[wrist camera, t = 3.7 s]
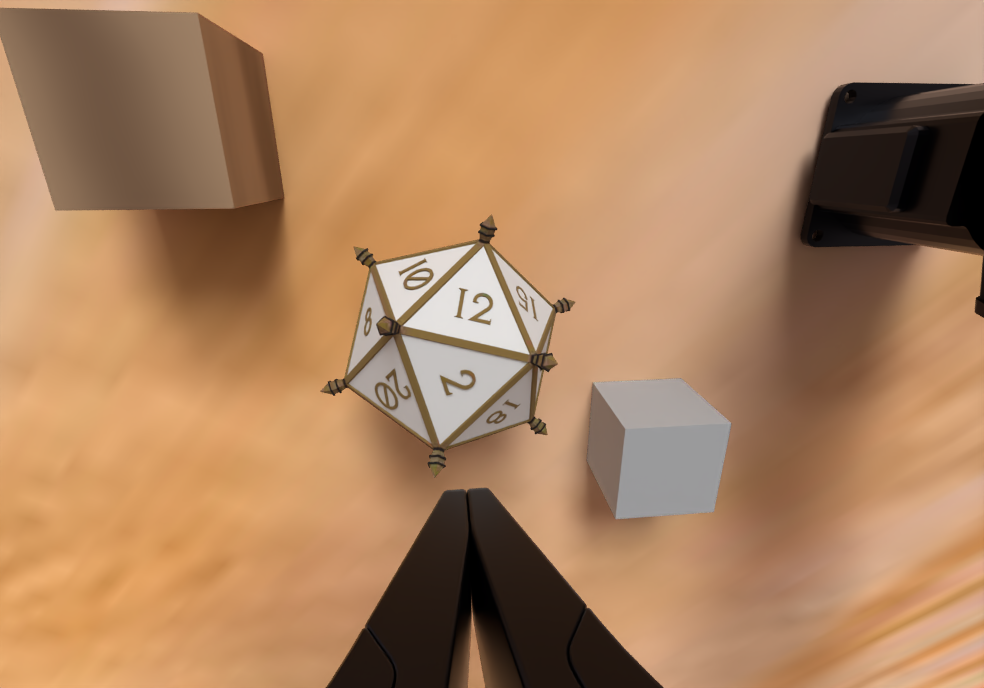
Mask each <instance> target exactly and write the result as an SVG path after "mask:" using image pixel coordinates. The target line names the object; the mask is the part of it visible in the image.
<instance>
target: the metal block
mask: <svg viewBox="0 0 984 688" xmlns="http://www.w3.org/2000/svg"><path fill="white" fill-rule="evenodd" d="M0 37H1V40H2V43H3V46H4V50H5V53H6V56H7V59H8V62H9V65H10V68H11V72H12V75H13V78H14V81H15V84H16V87H17V91H18V94H19V97H20V100H21V103H22V106H23V110H24V113H25V116H26V119H27V122H28V125H29V128H30V132H31V135H32V138H33V141H34V144H35V147H36V151H37V154H38V157H39V160H40V163H41V166H42V170H43V173H44V176H45V179H46V182H47V185H48V188H49V192H50V195H51V198H52V201H53V204H54V207H55V210H144V209H234V208H239V207H244V206H249V205H254V204H258V203H263V202H268V201H273V200H278V199H283V198H284V192H283V185H282V179H281V172H280V165H279V159H278V152H277V145H276V139H275V132H274V125H273V119H272V112H271V106H270V99H269V92H268V86H267V79H266V72H265V66H264V59H263V54H262V53H261V52H259V51H258V50H256V49H254V48H253V47H251V46H250V45H248V44H246V43H245V42H243V41H242V40H240V39H239V38H237V37H235V36H234V35H232V34H231V33H229V32H227V31H226V30H224V29H223V28H221V27H219V26H218V25H216V24H215V23H213V22H211V21H210V20H208V19H207V18H205V17H203V16H202V15H200V14H199V13H187V12H147V11H107V10H67V9H27V8H0Z"/></svg>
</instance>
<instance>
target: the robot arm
mask: <svg viewBox="0 0 984 688" xmlns="http://www.w3.org/2000/svg"><path fill="white" fill-rule="evenodd" d="M846 93H848V94H849V98H848V100H847V102H845V94H846ZM815 231H817V235H816V237H815V238H814V239H812V235H813V233H814V232H815ZM801 241H802V243H803V244H805V245H808V246H813V247H841V246H891V245H921V246H927V247H933V248H939V249H945V250H951V251H957V252H963V253H969V254H975V255H981V256H983V263H982V276H981V288H980V296H978V297H976V302H975V313H976V314H978V315H980V316H981V317H983V318H984V83H982V84H921V83H849V84H844V85H841V86H839V87H838V88H837V89H836V90H835V91H834V92H833V95H832V97H831V102H830V106H829V111H828V115H827V120H826V124H825V129H824V133H823V138H822V142H821V147H820V151H819V156H818V160H817V165H816V169H815V173H814V178H813V182H812V187H811V191H810V196H809V200H808V205H807V209H806V214H805V218H804V223H803V227H802V232H801ZM471 600H472V608H471ZM472 612H473V619H474V626H475V632H476V638H477V643H478V649H479V654H480V660H481V666H482V671H483V677H484V682H485V688H664V687H662V686H661V685H660V684H659V683H658V682H657V681H656V680H655V679H654V678H653V677H652V676H651V675H650V674H649V673H648V672H647V671H646V670H645V669H644V668H643V667H642V666H641V665H640V664H639V663H638V662H637V661H636V660H635V659H634V658H633V657H632V656H631V655H630V654H629V653H628V652H627V651H626V650H625V649H624V647H623V646H622V645H621V644H620V643H619V642H618V641H617V640H616V638H615V637H614V636H613V635H612V634H611V633H610V632H609V631H608V629H607V628H606V627H605V626H604V625H603V624H602V623H601V621H600V620H599V619H598V618H597V617H596V615H595V614H594V613H593V612H592V611H591V609H589V608H587V605H586V604H585V603H584V601H583V600H582V599H581V598H580V597H579V595H578V594H577V593H576V592H575V591H574V589H573V588H572V587H571V586H570V585H569V583H568V582H567V581H566V580H565V579H564V578H563V576H562V575H561V574H560V573H559V572H558V570H557V569H556V568H555V567H554V566H553V564H552V563H551V562H550V561H549V560H548V559H547V557H546V556H545V555H544V554H543V553H542V551H541V550H540V549H539V548H538V547H537V545H536V544H535V543H534V542H533V541H532V540H531V538H530V537H529V536H528V535H527V534H526V532H525V531H524V530H523V529H522V528H521V526H520V525H519V524H518V523H517V522H516V521H515V519H514V518H513V517H512V516H511V515H510V513H509V512H508V511H507V510H506V509H505V507H504V506H503V505H502V504H501V503H500V501H499V500H498V499H497V498H496V497H495V496H494V494H493V493H492V492H491V491H490V490H489V489H488V488H476V489H469V490H468V491H467V494H466V491H465V490H463V489H460V490H447V491H445V492H444V493H443V494H442V496H441V497H440V499H439V501H438V503H437V504H436V506H435V508H434V509H433V511H432V513H431V514H430V516H429V518H428V519H427V521H426V523H425V525H424V526H423V528H422V530H421V531H420V533H419V535H418V536H417V538H416V540H415V542H414V543H413V545H412V547H411V548H410V550H409V552H408V553H407V555H406V557H405V558H404V560H403V562H402V564H401V565H400V567H399V569H398V570H397V572H396V574H395V575H394V577H393V579H392V580H391V582H390V584H389V586H388V587H387V589H386V591H385V592H384V594H383V596H382V597H381V599H380V601H379V602H378V604H377V606H376V608H375V609H374V611H373V613H372V614H371V616H370V618H369V619H368V621H367V623H366V625H365V628H364V629H362V631H361V633H360V634H359V636H358V638H357V639H356V641H355V643H354V644H353V646H352V648H351V650H350V651H349V653H348V654H347V656H346V657H345V659H344V661H343V662H342V664H341V665H340V667H339V669H338V670H337V672H336V673H335V675H334V676H333V678H332V680H331V681H330V683H329V684H328V685H327V687H326V688H468V673H469V657H470V640H471V619H472Z"/></svg>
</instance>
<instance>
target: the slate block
mask: <svg viewBox="0 0 984 688" xmlns="http://www.w3.org/2000/svg"><path fill="white" fill-rule="evenodd" d="M730 428H731V422H729V421H728V420H727V419H726V418H725V417H724V416H723V415H722V414H720V413H719V412H718V411H717V410H716V409H715V408H714V407H713V406H712V405H710V404H709V403H708V402H707V401H706V400H705V399H704V398H703V397H701V396H700V395H699V394H698V393H697V392H696V391H695V390H694V389H692V388H691V387H690V386H689V385H688V384H687V383H686V382H685V381H683V380H682V379H681V378H678V379H656V380H634V381H613V382H593V386H592V399H591V412H590V424H589V437H588V449H587V462H588V464H589V466H590V468H591V470H592V473H593V475H594V477H595V479H596V481H597V483H598V485H599V487H600V489H601V491H602V493H603V495H604V497H605V499H606V501H607V503H608V505H609V507H610V509H611V511H612V513H613V515H614V517H615V519H625V518H639V517H653V516H666V515H680V514H694V513H707V512H714V508H715V503H716V498H717V493H718V488H719V483H720V478H721V473H722V468H723V463H724V458H725V453H726V448H727V443H728V438H729V433H730Z"/></svg>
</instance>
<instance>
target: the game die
mask: <svg viewBox="0 0 984 688" xmlns="http://www.w3.org/2000/svg"><path fill="white" fill-rule="evenodd" d="M480 226H481V229H480V230H479V231H478V233H480V239H479V240H474V241H470V242H465V243H460V244H456V245H451V246H447V247H442V248H438V249H433V250H428V251H424V252H419V253H415V254H410V255H406V256H401V257H396V258H392V259H387V260H383V261H378V262H376V261H375V260H374V258H373V256H372V255H373V254H370V253H369V252H368V248H367V249H362V248H358V247H354V250H355V253H356V256H357V258H356V259H357V260H359V261H361V263H362V265H366V266H368V267H369V273H368V278H367V282H366V286H365V291H364V295H363V299H362V304H361V308H360V312H359V317H358V321H357V325H356V330H355V334H354V339H353V343H352V347H351V352H350V356H349V360H348V365H347V369H346V373H345V378H344V379H342V380H338V379H335V381H332V382H331V381H328V384H327V385H326V386H325V387H324V388H323V389H322V390H321V391H320V392H324V393H328V394H333V396H335V394H336V393H338V392H340V393H342V392H341V391H342V390H344V389H345V388H349V389H351V390H352V391H353V392H355V393H356V394H358V395H359V396H360V397H362V398H363V399H364V400H366V401H367V402H369V403H370V404H371V405H373V406H374V407H375V408H377V409H378V410H380V411H381V412H382V413H384V414H385V415H386V416H388V417H389V418H391V419H392V420H393V421H395V422H396V423H397V424H399V425H400V426H402V427H403V428H404V429H406V430H407V431H408V432H410V433H411V434H413V435H414V436H415V437H417V438H418V439H419V440H421V441H422V442H424V443H425V444H426V445H428V446H429V447H430V448H432V449H433V452H432V454H431V455H429V458H430V462H428V466H429V468H431V471H432V473H433V476H434V478H435V477H436V475H437V474H438V473H439V472H440V471H441V469H442V468H444V467H446V465H444V460H446V458H445V457H444V451H445V450H448V449H451V448H453V447H456V446H459V445H462V444H465V443H468V442H471V441H474V440H477V439H480V438H483V437H486V436H489V435H492V434H495V433H497V432H500V431H503V430H506V429H509V428H512V427H515V426H518V425H521V424H524V423H529V424H530V426H531V430H534V431H535V434H537V433H538V434H543V435H547V430H546V424H545V423H543V422H541V421H542V420H540V419H539V418H538V419H536V418H535V417H534V415H535V410H536V405H537V401H538V396H539V391H540V386H541V382H542V377H543V372H544V370H546V371H547V372H549V371H550V369H551V368H553V367H554V366H556V365H557V364H558V363H557V362H556V360H555V359H554V358H553V354H552V353H549V354H547V353H548V348H549V344H550V339H551V334H552V329H553V325H554V320H555V315H556V313H557V312H560V313H564V312H565V311H570V308H571V307H572V306H573V304H574V303H575V302H574V301H571V300H567V299H565V298H563V300H561V301H560V300H558V301H557V303H556V304H554V305H552V304H551V303H550V302H549V301H548V300H547V299H546V298H545V297H544V296H543V295H542V294H541V293H540V292H539V291H538V290H537V289H536V288H535V287H534V286H533V285H532V284H530V283H529V282H528V281H527V280H526V279H525V278H524V277H523V276H522V275H521V274H520V273H519V272H518V271H517V270H516V269H515V268H514V267H513V266H512V265H511V264H510V263H509V262H508V261H507V260H506V259H505V258H504V257H503V256H502V255H501V254H500V253H499V252H498V251H497V250H496V249H495V248H494V247H493V246H492V245H491V244H490V240H491V238H492V237H494V236H495V235H494V232H495V230H497V228H496V227H495V224H494V220H493V216H492V214H491V215H490V216H489V217H488V218H487V219H486V220H485V221H484V222H482V223H481V224H480Z"/></svg>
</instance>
